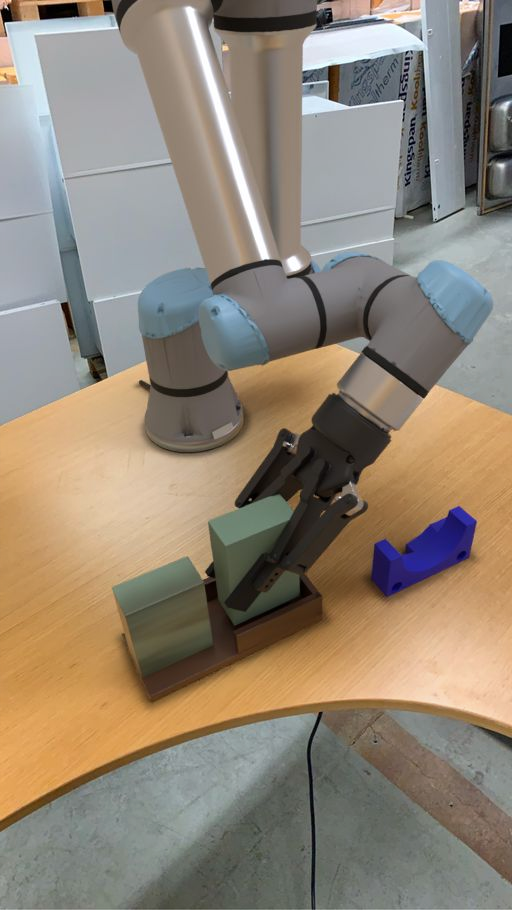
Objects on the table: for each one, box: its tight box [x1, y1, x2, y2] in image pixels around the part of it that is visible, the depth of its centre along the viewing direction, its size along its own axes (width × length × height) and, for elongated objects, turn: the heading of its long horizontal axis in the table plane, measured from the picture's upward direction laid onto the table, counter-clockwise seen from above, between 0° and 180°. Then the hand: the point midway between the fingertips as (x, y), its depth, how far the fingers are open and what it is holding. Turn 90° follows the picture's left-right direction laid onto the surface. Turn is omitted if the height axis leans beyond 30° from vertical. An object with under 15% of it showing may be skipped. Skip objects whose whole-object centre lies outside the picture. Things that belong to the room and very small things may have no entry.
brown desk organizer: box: [111, 555, 324, 703], centre depth 68 cm, size 9×20×11 cm, turn 118°
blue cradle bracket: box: [370, 505, 478, 598], centre depth 76 cm, size 12×4×6 cm, turn 118°
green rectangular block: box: [207, 494, 300, 626], centre depth 68 cm, size 4×8×12 cm, turn 118°
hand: (225, 591), depth 68 cm, fingers closed on green rectangular block, 4 cm apart
